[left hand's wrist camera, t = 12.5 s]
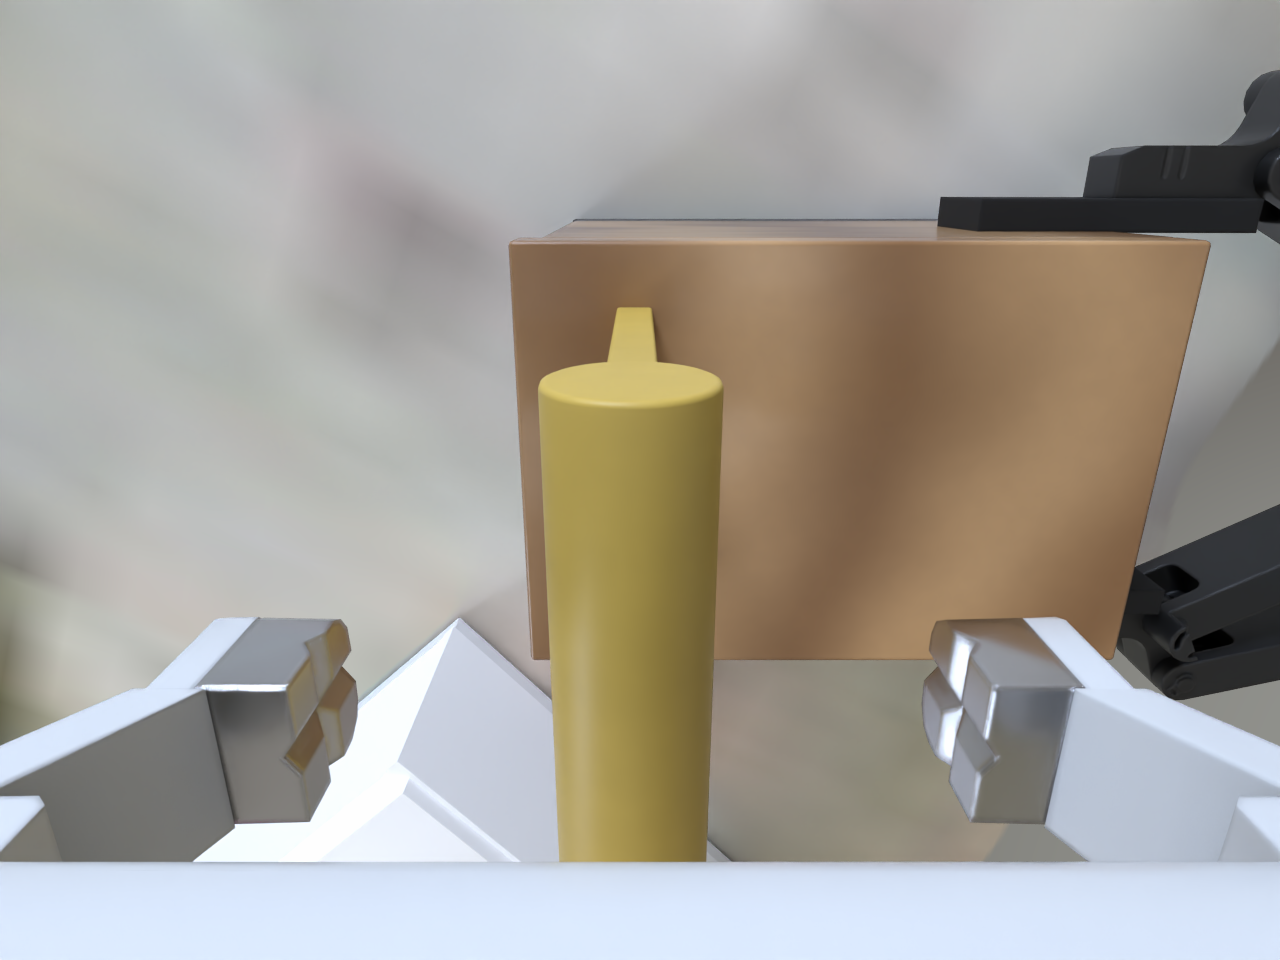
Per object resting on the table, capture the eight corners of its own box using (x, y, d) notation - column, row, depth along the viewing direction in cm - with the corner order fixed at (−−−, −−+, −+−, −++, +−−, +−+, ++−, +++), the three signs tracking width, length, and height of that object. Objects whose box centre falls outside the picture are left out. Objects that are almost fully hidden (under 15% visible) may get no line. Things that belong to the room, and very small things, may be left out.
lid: (535, 637, 20) (456, 984, 11) (515, 237, 16) (380, 292, 8) (1089, 637, 20) (1439, 984, 11) (1178, 237, 16) (1768, 291, 8)
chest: (582, 492, 29) (556, 636, 20) (575, 219, 26) (539, 236, 16) (945, 492, 29) (1089, 636, 20) (983, 219, 26) (1178, 237, 16)
